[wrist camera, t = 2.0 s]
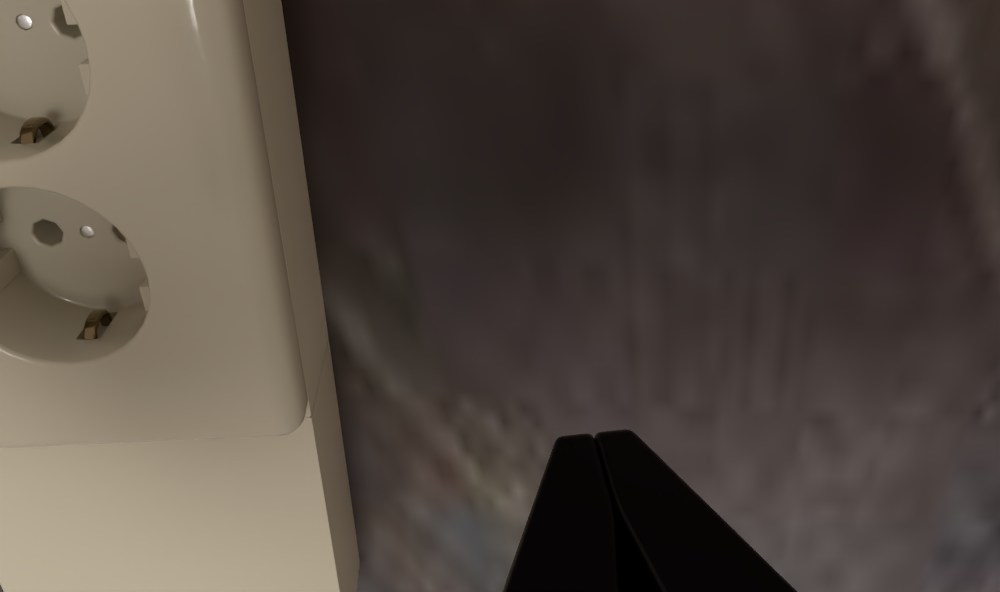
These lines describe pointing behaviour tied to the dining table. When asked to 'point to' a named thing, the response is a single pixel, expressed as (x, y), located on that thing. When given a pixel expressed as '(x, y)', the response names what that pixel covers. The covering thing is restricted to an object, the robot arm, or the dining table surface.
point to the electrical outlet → (162, 308)
